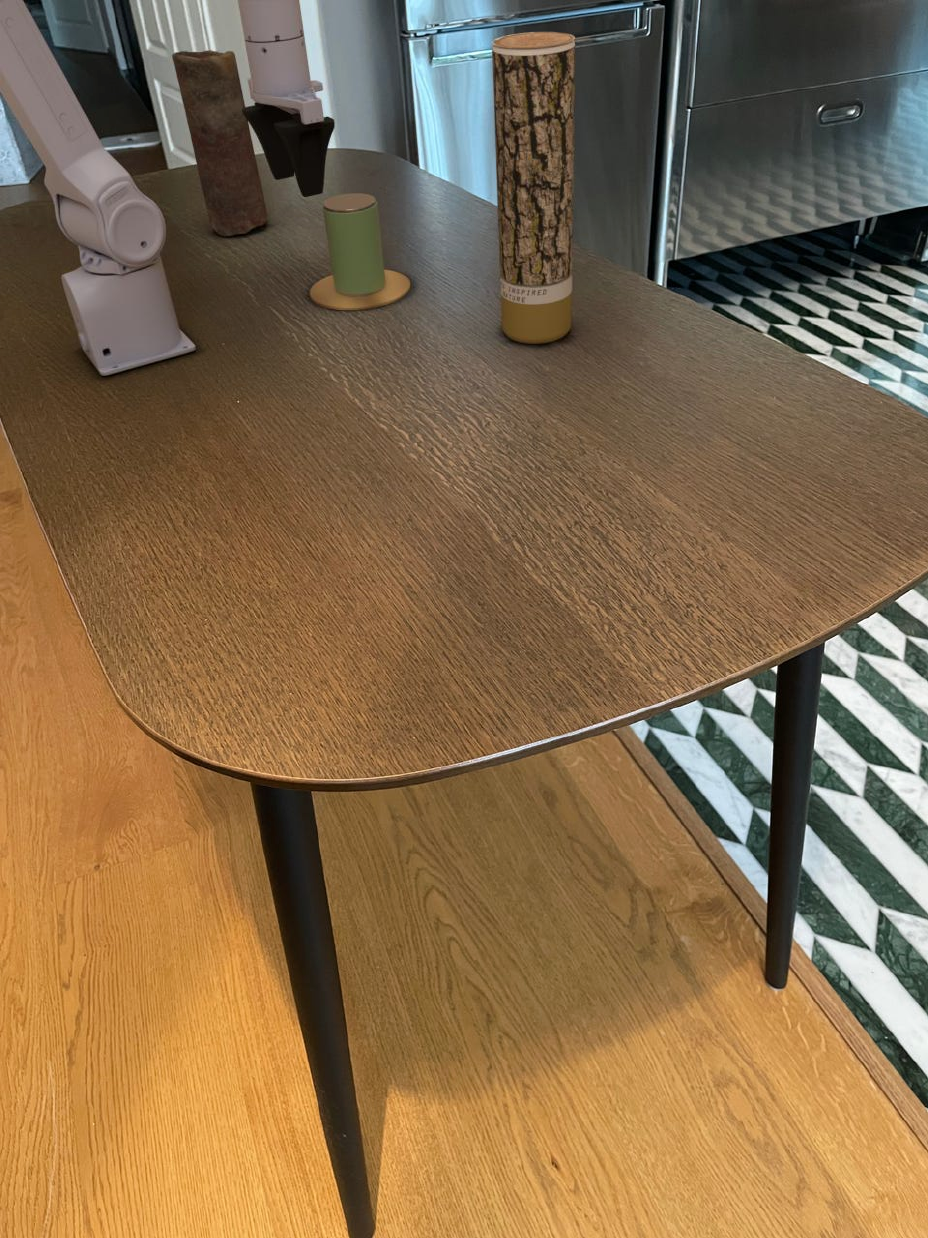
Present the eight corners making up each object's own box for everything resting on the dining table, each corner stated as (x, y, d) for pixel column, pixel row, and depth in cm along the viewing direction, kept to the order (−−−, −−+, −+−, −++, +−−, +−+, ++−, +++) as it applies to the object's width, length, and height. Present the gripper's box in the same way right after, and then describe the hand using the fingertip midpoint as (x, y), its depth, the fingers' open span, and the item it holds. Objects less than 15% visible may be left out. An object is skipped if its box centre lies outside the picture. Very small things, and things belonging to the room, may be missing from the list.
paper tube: (566, 348, 92) (570, 47, 76) (496, 345, 93) (484, 49, 77) (575, 318, 97) (579, 30, 81) (508, 316, 98) (499, 32, 82)
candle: (205, 224, 126) (165, 49, 113) (259, 213, 128) (226, 40, 115) (219, 241, 121) (179, 59, 108) (276, 230, 123) (243, 49, 110)
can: (349, 301, 103) (336, 214, 97) (326, 285, 107) (313, 200, 101) (395, 288, 105) (386, 201, 99) (371, 273, 109) (361, 189, 103)
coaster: (336, 319, 100) (335, 316, 100) (294, 287, 108) (293, 284, 107) (428, 292, 104) (428, 290, 104) (382, 263, 112) (381, 261, 111)
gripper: (344, 40, 89) (362, 194, 98) (284, 21, 99) (305, 163, 108) (272, 52, 87) (298, 208, 96) (218, 31, 97) (246, 175, 105)
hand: (298, 185), depth 102 cm, fingers open, 7 cm apart
